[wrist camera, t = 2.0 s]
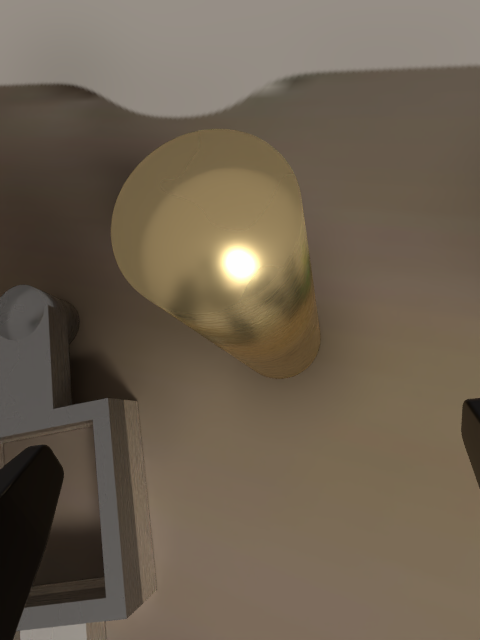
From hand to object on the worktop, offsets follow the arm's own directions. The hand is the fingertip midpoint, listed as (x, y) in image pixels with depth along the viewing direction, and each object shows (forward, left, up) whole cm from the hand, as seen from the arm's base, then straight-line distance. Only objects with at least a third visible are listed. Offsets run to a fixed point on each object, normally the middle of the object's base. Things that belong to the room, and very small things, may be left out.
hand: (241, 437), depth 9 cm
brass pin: (+4, 0, -11) cm, 12 cm away
